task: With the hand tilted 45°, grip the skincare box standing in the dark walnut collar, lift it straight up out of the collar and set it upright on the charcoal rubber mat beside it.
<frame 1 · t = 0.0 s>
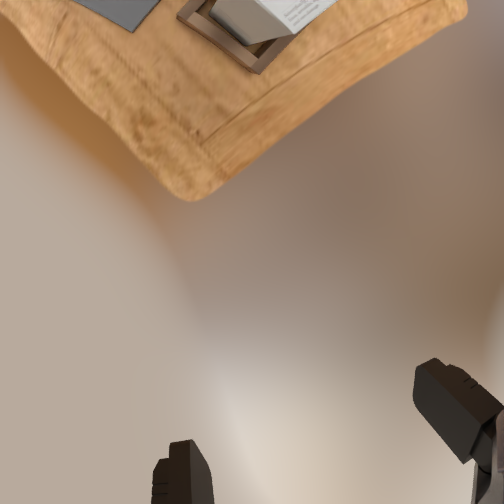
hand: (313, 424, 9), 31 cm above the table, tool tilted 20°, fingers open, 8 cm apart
walnut collar: (252, 5, 25), on the table
skincare box: (252, 5, 26), resting in walnut collar
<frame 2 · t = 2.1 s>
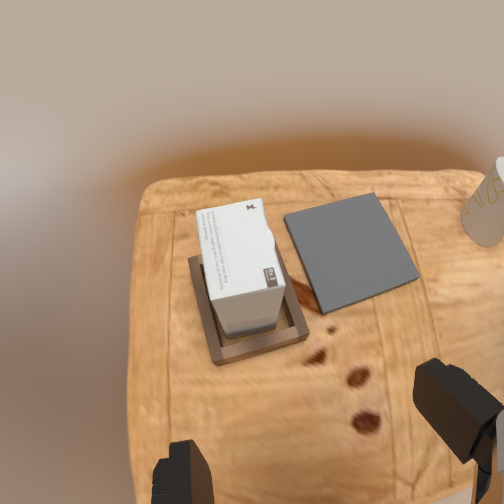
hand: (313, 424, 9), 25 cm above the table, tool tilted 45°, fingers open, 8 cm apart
grey patterned cylinder: (479, 225, 41), on the table
walnut collar: (246, 304, 37), on the table
charcoal mat: (351, 248, 40), on the table
skincare box: (247, 305, 37), resting in walnut collar
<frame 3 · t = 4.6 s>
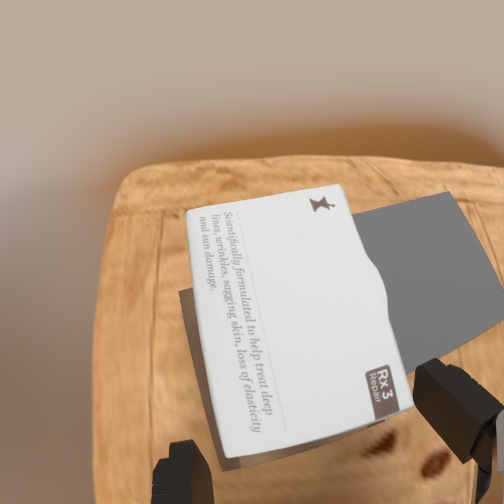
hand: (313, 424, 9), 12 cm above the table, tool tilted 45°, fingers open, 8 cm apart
walnut collar: (276, 366, 22), on the table
charcoal mat: (428, 273, 24), on the table
skincare box: (276, 366, 22), resting in walnut collar
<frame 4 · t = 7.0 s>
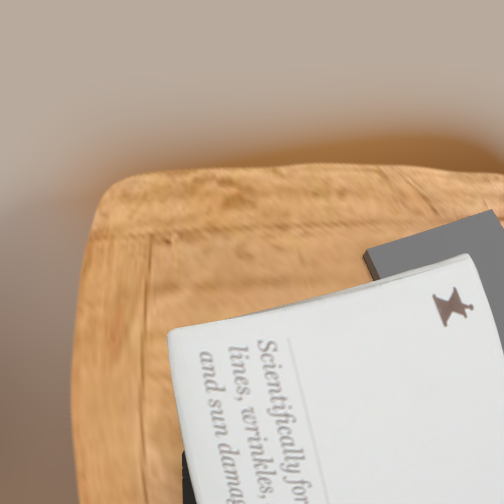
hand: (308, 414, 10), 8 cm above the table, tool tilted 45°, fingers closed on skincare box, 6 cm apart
charcoal mat: (474, 311, 19), on the table
skincare box: (299, 438, 16), resting in walnut collar, touching gripper
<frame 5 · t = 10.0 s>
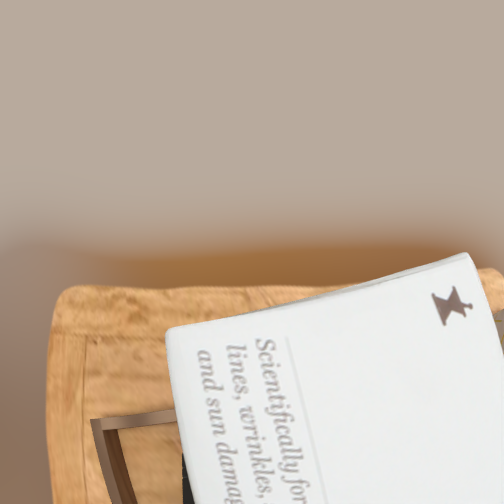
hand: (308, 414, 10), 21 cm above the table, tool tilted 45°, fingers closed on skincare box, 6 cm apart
grey patterned cylinder: (480, 355, 30), on the table
walnut collar: (161, 468, 25), on the table
skincare box: (298, 437, 16), point 13 cm above the table, touching gripper
when the fingers open (10 cm above the table, at t = 13.5 s): skincare box drops 1 cm, resting on charcoal mat.
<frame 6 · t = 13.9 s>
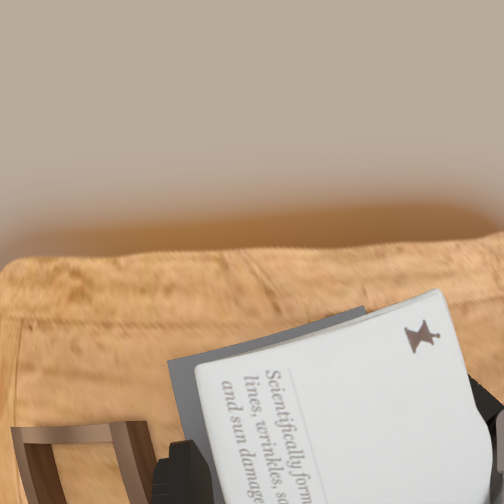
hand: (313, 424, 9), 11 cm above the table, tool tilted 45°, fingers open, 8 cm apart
walnut collar: (105, 501, 15), on the table
charcoal mat: (297, 433, 18), on the table
skincare box: (299, 438, 17), point 1 cm above the table, touching charcoal mat
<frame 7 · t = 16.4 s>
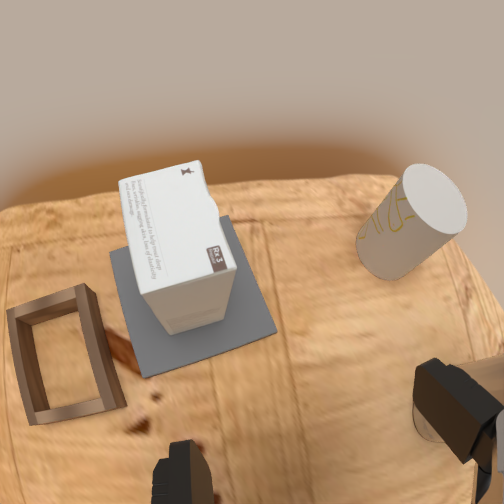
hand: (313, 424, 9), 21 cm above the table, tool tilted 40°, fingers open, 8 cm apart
grey patterned cylinder: (384, 250, 37), on the table
walnut collar: (67, 360, 27), on the table
charcoal mat: (187, 293, 32), on the table
skincare box: (188, 293, 31), point 1 cm above the table, touching charcoal mat
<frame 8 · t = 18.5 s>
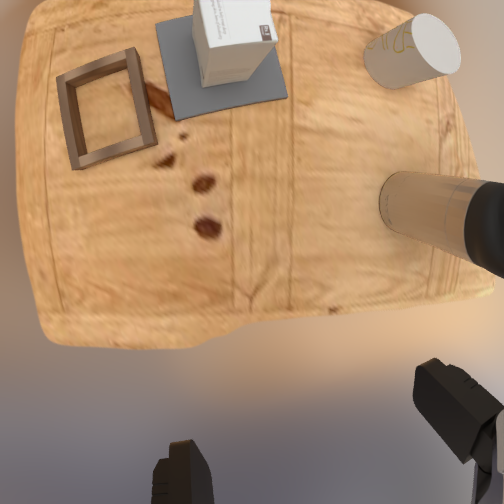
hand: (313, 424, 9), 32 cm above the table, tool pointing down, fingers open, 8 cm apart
grey patterned cylinder: (386, 64, 37), on the table
walnut collar: (108, 111, 33), on the table
charcoal mat: (220, 58, 34), on the table
skincare box: (221, 58, 33), point 1 cm above the table, touching charcoal mat
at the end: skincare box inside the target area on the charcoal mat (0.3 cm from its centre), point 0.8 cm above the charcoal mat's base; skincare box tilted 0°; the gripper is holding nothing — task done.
